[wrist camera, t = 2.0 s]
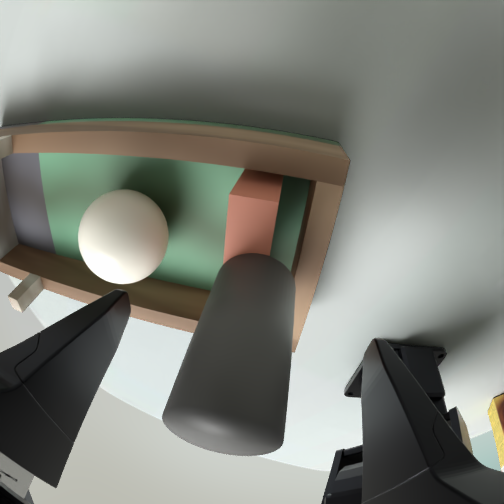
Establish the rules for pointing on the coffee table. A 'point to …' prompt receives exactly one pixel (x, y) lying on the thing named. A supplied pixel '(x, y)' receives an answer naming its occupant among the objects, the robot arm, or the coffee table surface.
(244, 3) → the coffee table surface
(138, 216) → the ball
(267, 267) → the cylinder
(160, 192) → the tray
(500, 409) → the candy box
